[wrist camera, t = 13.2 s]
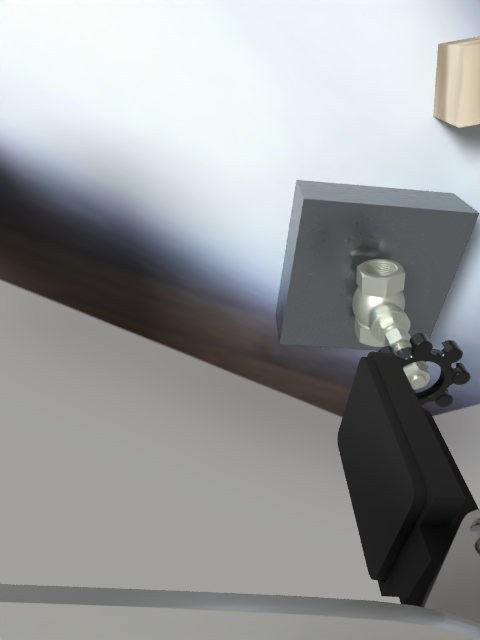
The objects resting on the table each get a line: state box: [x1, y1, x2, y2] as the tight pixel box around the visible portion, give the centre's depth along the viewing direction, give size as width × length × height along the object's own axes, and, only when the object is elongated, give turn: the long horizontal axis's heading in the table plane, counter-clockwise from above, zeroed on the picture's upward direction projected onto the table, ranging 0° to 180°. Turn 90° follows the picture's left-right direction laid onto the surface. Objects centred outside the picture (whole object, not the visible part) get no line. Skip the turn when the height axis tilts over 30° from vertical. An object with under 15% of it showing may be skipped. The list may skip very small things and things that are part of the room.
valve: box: [352, 259, 470, 407], centre depth 34 cm, size 7×7×12 cm
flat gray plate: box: [276, 180, 479, 350], centre depth 40 cm, size 14×14×5 cm
